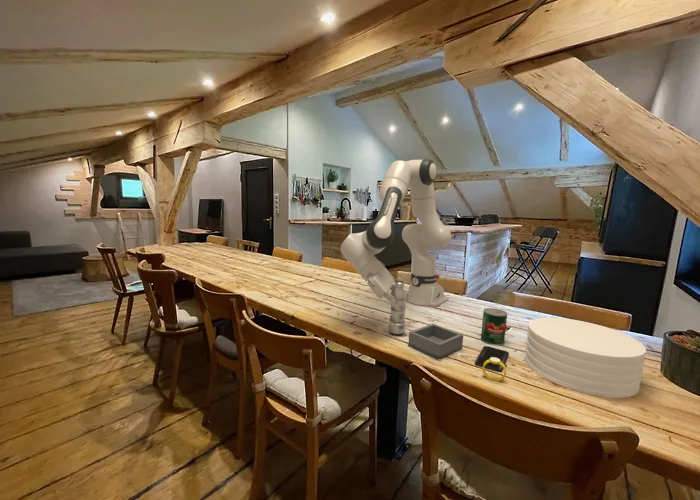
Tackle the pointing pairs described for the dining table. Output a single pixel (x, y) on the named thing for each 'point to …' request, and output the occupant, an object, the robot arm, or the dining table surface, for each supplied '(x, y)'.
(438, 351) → the tray
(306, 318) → the dining table surface
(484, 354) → the phone
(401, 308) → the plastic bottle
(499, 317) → the canned tomato
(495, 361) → the watch
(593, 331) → the plate stack
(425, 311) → the dining table surface
